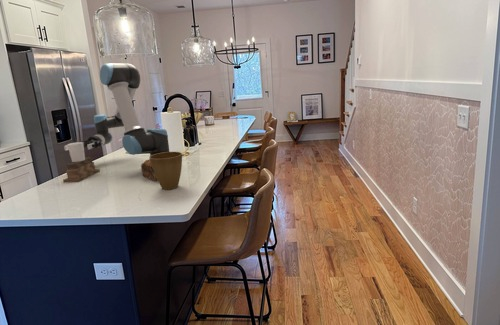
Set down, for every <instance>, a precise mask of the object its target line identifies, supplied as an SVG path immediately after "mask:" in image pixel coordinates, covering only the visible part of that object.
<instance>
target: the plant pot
mask: <svg viewBox="0 0 500 325" xmlns="http://www.w3.org/2000/svg"><path fill="white" fill-rule="evenodd" d="M149 159H150V162H151V165H152V168H153V171H154V173H155V176H156V178H157V180H158V181H157V182H158V184H159V186H160V187H161V189H162V190H165V191H170V190H174V189H178V187H179V183H180V179H181V173H182V165H183V153H182V152H180V151H169V152H163V153H158V154H154V155H151V156H150V155H149Z"/></svg>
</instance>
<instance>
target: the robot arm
mask: <svg viewBox="0 0 500 325" xmlns="http://www.w3.org/2000/svg"><path fill="white" fill-rule="evenodd" d="M99 79H100V83H101V84H102V85H105V86H107V89H108V91H110V92H111V93H112V96H113V98H114V101H115V104H116V109H115V112H114V115H113V116H111V115H110V116H107V115H106V113H105V114H95V115H94V116H93V124H94V128H95V133H96V134H95V135H91V136H89V137H88V138H87V139H86V140H83V141H82V140H81V141H79V142H83V145H84V148H87V150H92V149H96V148H101V147H102V146H105V145H108V144H110V143H111V142H112V141H113V135H112V134H111V133H110V132H109V129H114V128H121V127H123V128H124V130H125V131H124V132H123V137H122V139H121V140H122V146H123V148H124V150H125V152H127V153H128V154H129V155H132V156H133V155H134V156H135V155H141V154H143V153H149V157H150V156H151V155H154V154H158V153H163V152H170V143H169V138H168V137H169V135H168V131H167V129H165V128H147V129H146V131H145V128H144V127H143V126H141V124H140V121H139V118H138V116H137V113H136V110H135V106H134V103H133V100H134V96H135V95H136V94H135V93H136V90H137V89H139V88H140V85H141V74H140V72H139V70H138V69H137V67H136V66H135V65H133V64H131V63H127V62H126V63H113V62H109V63H103V64H102V65H101V67H100V69H99ZM68 144H69V143H67V144H65V145H64V146H63V148H64V151H69V148H68Z"/></svg>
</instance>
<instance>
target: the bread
mask: <svg viewBox="0 0 500 325" xmlns="http://www.w3.org/2000/svg"><path fill="white" fill-rule="evenodd" d="M140 167H141V168H140V169H141V174H142V176H143V177H144V178H146V179H148V180H151V181H153V182H158V180H157V178H156V176H155V173H154V171H153V168H152V165H151V162H150V158H149V159H146V160H145V161H144V162H142V163H141V165H140Z"/></svg>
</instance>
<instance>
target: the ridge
mask: <svg viewBox="0 0 500 325" xmlns="http://www.w3.org/2000/svg"><path fill="white" fill-rule="evenodd" d="M66 168H67V169H66V170H65V171H66V172H65V173H66V176H67V177H66V178H64V179H62V182H63V183H79V182H80V183H81V182H82V181H84V180H85V179H88V178H90V177H92V176H94V175H95V174H98V173H100V168H96V166H95V162H94V161H93V158H92V156H91V157H89V156H88V157H86V156H85V160H84V161H79V162H72V161H71V162H69V163H67V164H66Z"/></svg>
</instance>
